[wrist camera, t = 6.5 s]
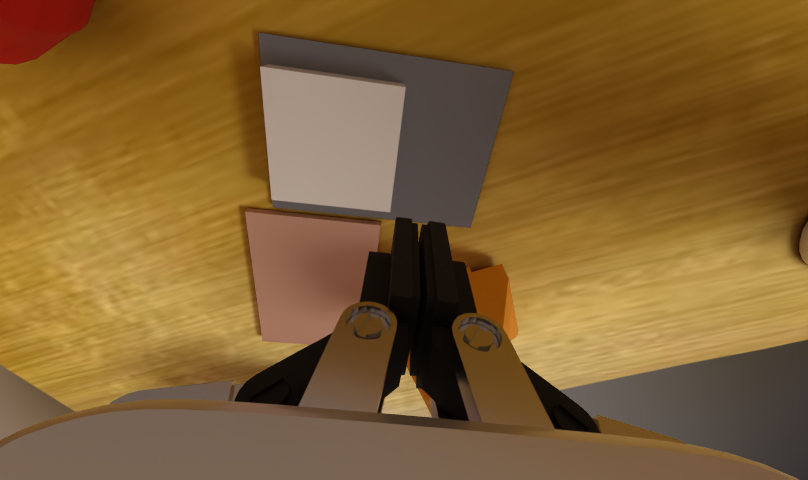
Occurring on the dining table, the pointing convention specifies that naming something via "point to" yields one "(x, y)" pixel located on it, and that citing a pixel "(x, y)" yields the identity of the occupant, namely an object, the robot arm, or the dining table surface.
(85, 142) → the dining table surface
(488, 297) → the bracket
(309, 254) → the rest pad
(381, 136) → the tile
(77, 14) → the tomato
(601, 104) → the dining table surface
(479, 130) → the mat
